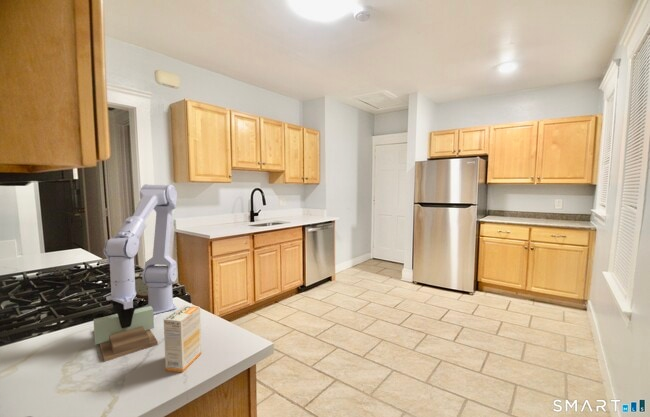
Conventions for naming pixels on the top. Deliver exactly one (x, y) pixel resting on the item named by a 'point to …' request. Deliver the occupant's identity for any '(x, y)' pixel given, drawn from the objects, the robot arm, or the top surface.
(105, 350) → the slotted plank
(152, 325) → the sage block
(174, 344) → the supplement box
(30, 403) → the top surface
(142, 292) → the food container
